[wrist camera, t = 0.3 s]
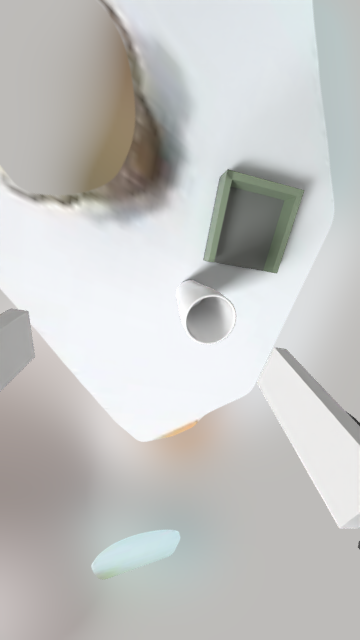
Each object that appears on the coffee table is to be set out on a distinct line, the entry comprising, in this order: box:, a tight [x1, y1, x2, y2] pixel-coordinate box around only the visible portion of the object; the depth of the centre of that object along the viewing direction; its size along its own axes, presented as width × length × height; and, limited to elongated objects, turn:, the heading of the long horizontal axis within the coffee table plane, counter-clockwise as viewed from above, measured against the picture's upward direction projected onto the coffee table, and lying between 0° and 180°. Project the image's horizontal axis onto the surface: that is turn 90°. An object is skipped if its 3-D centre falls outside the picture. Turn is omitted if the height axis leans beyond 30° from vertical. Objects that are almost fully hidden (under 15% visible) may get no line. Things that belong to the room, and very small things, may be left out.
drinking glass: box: [176, 280, 236, 344], centre depth 30 cm, size 7×7×15 cm
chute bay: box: [203, 170, 304, 273], centre depth 33 cm, size 13×13×4 cm
